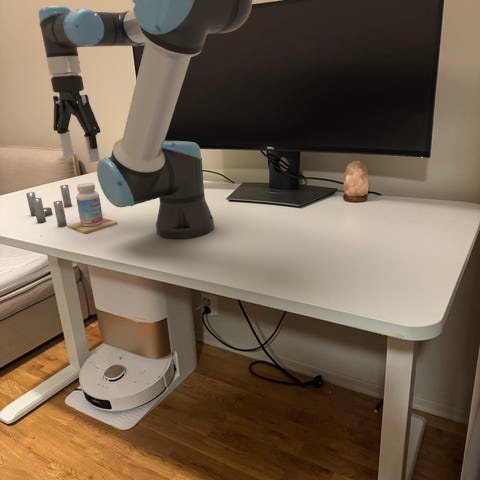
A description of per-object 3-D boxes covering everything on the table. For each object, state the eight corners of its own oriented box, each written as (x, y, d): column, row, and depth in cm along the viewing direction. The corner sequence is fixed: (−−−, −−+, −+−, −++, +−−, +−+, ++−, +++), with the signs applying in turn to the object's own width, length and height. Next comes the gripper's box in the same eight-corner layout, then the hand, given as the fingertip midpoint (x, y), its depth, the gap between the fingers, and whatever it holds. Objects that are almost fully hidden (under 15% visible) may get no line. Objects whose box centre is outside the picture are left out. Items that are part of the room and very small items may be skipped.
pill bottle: (97, 227, 127) (90, 187, 123) (77, 227, 128) (69, 187, 125) (107, 220, 133) (101, 181, 129) (87, 220, 134) (81, 182, 130)
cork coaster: (117, 224, 131) (117, 222, 131) (85, 234, 124) (85, 232, 124) (99, 218, 137) (98, 216, 137) (67, 227, 131) (67, 225, 131)
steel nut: (54, 213, 146) (53, 207, 145) (50, 216, 142) (49, 210, 142) (41, 214, 146) (40, 208, 145) (37, 217, 142) (35, 211, 141)
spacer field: (108, 213, 141) (104, 191, 139) (53, 229, 130) (48, 205, 127) (75, 203, 155) (71, 183, 152) (23, 217, 143) (18, 195, 141)
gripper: (105, 72, 111) (119, 160, 119) (56, 76, 128) (71, 153, 135) (76, 74, 106) (92, 166, 114) (30, 77, 123) (46, 158, 130)
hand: (81, 159), depth 124 cm, fingers open, 13 cm apart
